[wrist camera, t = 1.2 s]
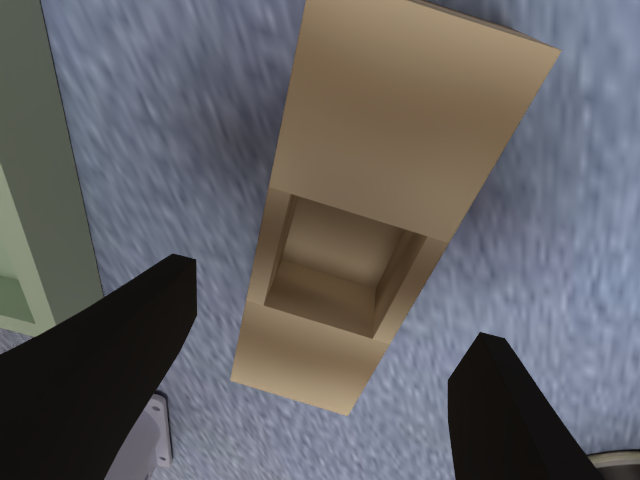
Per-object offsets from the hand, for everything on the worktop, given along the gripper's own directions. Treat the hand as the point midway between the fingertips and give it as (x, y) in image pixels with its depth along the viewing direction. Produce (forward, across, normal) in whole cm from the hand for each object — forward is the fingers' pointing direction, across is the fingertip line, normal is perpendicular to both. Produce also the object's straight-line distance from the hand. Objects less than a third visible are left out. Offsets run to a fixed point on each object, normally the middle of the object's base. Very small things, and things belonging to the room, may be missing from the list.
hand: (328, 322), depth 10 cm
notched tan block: (+6, 0, 0) cm, 6 cm away
